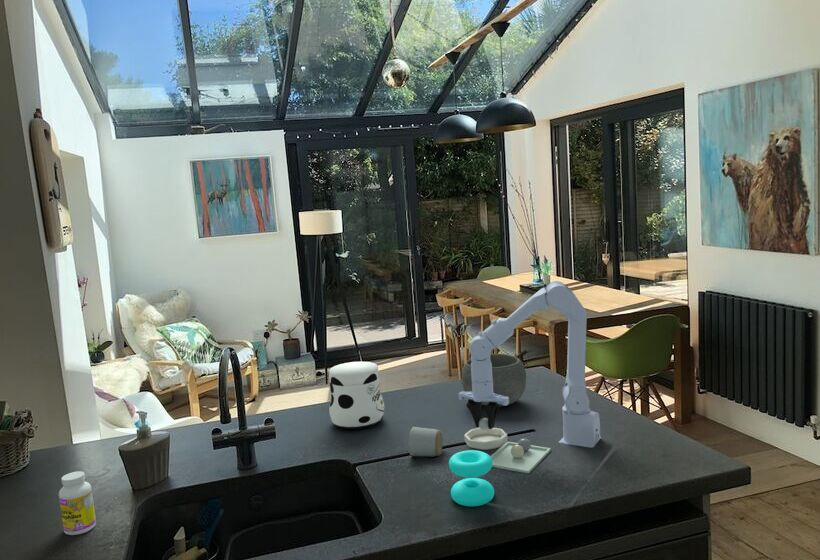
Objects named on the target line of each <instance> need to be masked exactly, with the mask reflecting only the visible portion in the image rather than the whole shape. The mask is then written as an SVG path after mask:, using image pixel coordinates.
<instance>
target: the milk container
mask: <svg viewBox="0 0 820 560" xmlns="http://www.w3.org/2000/svg"><path fill="white" fill-rule="evenodd" d="M379 373H380V371H379V367H378V364H377V363H375V362H371V361H351V362H344V363H340V364H337V365H334V366H332V367H331V368H330V369H329V373H328V375H329V376H328V380H329V390H330V403H329V408H328V409H329V410H328V412H329V417H330V420H331V423H333V424H334V425H335V426H336V427H339V428H341V429H348V430H349V429H352V430H353V429H362V428H368V427H372V426H374V425H376V424H378V423H379V422H380V421H381V420H383V419H384V417H385V402H384V398H383V395H382V392H381V387H380V386H381V385H380V374H379Z"/></svg>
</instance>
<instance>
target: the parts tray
mask: <svg viewBox="0 0 820 560" xmlns="http://www.w3.org/2000/svg"><path fill="white" fill-rule="evenodd" d="M514 445H518V442H512V441H507V442H506V443H505V444H504V445H502V446H501V447H498V449H496V451H495V452H494V453H493V454H491V455H489V456H490V457H491V458H492V461H493V465H492V468H496V469H501V470H507V471H514V472H518V473H524V474H528V475H529V474H530V473H531V472H532V471H533V470H534V469H535V468H536V467H537V466H538V465H539V464H540V463H541V462H542V461H543V459H544V458H546V457H547V455H548V454H550V452H551V451H552V449H551V447H546V446H545V447H544V446H538V445H532V444H531V447H530V449H529V450H528V451H526V452H524V454H523V456H522V457H520V458H515V457H513V456H512V454H511V448H512V447H513V446H514Z"/></svg>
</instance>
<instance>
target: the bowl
mask: <svg viewBox="0 0 820 560" xmlns="http://www.w3.org/2000/svg"><path fill="white" fill-rule="evenodd" d="M490 360H491V363H492V377H493V393H494V394H498V395H502V396H506V397H509V404H508V405H507V406H510V405H511V404H512V405H513V404H514V403H515V402H517V401H519V399H520V398H521V397H522V396H523V394H524V392H525V390H526V385H527V371H526V367H525V366H524V363H523V362H522V360H521V359H520V358H518V357H516V356H514V355H510V354H509V353H508V354H507V353H491V355H490ZM471 363H472V362H471V358H469V359H468V360H467V361H465V363H464V365H463V368H462V370H461V384H462V387H463V391H464V392H473V391H472V375H471ZM488 404H489V403H487V402H482V404H481V406H484V407H485V406H486V405H488ZM500 407H504V406H503V404H501V405H500Z"/></svg>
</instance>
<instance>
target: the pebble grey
mask: <svg viewBox="0 0 820 560" xmlns="http://www.w3.org/2000/svg"><path fill="white" fill-rule="evenodd" d="M478 428H480V429H482V430H488V429H489V427H488V417H481V419H480V421H479V427H478Z"/></svg>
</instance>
